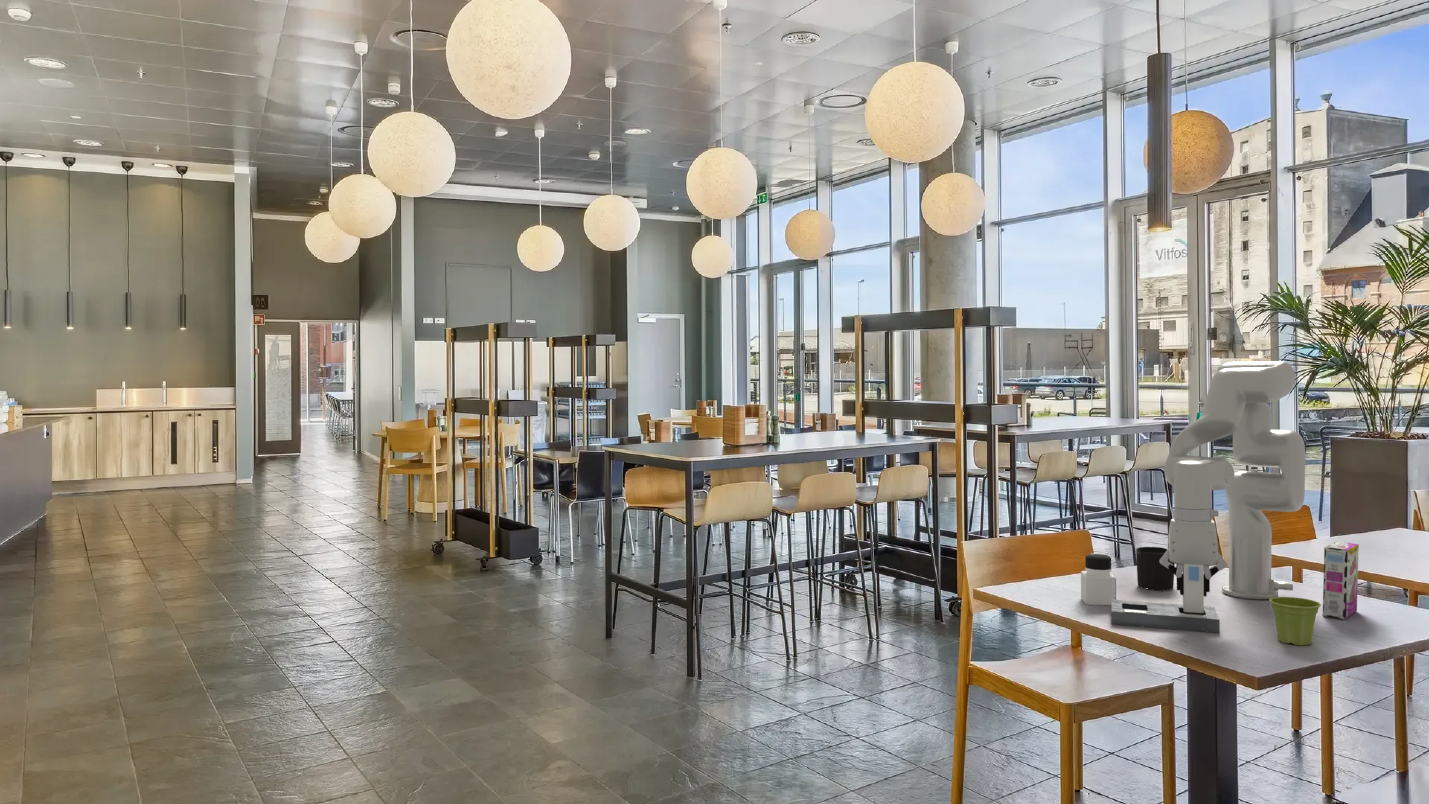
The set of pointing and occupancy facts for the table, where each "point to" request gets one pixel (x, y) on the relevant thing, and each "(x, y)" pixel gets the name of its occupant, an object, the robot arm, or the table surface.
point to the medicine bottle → (1098, 580)
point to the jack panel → (1163, 616)
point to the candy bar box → (1340, 580)
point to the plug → (1193, 588)
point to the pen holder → (1153, 569)
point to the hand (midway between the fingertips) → (1193, 593)
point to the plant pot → (1294, 619)
